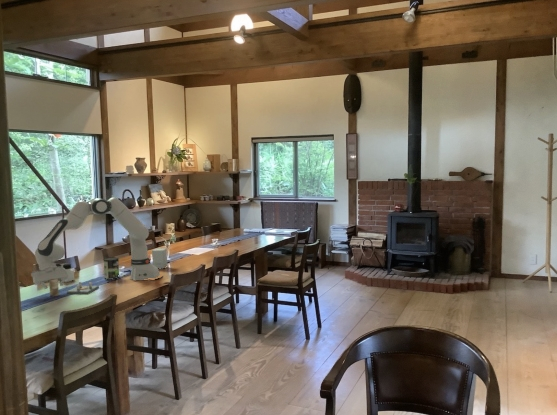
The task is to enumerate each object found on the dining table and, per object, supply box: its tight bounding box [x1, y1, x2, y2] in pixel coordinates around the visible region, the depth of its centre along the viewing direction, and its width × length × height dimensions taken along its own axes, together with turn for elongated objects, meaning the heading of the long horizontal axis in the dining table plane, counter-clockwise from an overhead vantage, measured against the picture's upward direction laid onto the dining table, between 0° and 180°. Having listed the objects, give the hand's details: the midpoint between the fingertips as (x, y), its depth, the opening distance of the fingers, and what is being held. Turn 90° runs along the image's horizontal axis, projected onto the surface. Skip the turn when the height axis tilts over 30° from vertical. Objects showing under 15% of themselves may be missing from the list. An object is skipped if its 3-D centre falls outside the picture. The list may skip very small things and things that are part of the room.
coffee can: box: [103, 257, 120, 280], centre depth 336 cm, size 10×10×14 cm
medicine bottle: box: [62, 262, 75, 283], centre depth 330 cm, size 7×7×12 cm
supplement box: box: [151, 248, 168, 269], centre depth 364 cm, size 9×9×15 cm
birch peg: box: [48, 279, 60, 297], centre depth 293 cm, size 5×5×10 cm
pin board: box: [66, 281, 99, 295], centre depth 303 cm, size 14×14×5 cm
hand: (54, 286), depth 293 cm, fingers open, 8 cm apart
